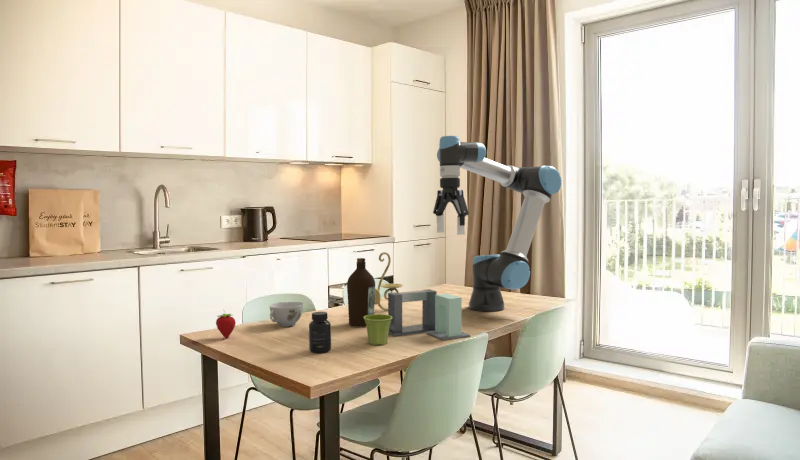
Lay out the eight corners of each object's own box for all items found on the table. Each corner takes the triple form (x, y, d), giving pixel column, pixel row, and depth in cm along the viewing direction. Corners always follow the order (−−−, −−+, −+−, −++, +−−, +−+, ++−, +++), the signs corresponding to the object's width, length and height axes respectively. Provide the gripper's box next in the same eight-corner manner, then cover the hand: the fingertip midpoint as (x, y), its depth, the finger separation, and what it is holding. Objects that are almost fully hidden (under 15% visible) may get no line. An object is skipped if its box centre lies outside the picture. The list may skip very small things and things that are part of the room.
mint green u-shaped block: (447, 329, 200) (447, 293, 199) (461, 335, 192) (461, 297, 191) (435, 331, 198) (435, 294, 197) (449, 337, 190) (449, 298, 189)
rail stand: (429, 325, 209) (429, 288, 208) (441, 330, 202) (441, 291, 201) (383, 331, 200) (383, 292, 199) (394, 336, 193) (393, 296, 192)
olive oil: (343, 326, 207) (342, 259, 206) (352, 320, 218) (352, 256, 216) (370, 328, 205) (370, 260, 203) (378, 322, 215) (378, 257, 214)
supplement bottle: (309, 348, 178) (309, 310, 178) (331, 347, 179) (331, 310, 178) (308, 354, 172) (307, 315, 171) (330, 353, 172) (330, 314, 171)
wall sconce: (382, 315, 228) (381, 253, 227) (367, 311, 235) (367, 252, 234) (407, 310, 237) (407, 251, 236) (393, 307, 244) (392, 250, 243)
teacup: (286, 320, 219) (286, 299, 219) (310, 323, 213) (310, 302, 212) (257, 327, 207) (257, 306, 206) (282, 331, 200) (282, 309, 200)
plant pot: (373, 338, 191) (373, 312, 190) (397, 341, 186) (397, 315, 186) (358, 344, 183) (357, 318, 182) (382, 348, 178) (382, 321, 178)
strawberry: (224, 341, 186) (223, 312, 186) (212, 338, 191) (211, 309, 191) (239, 338, 191) (239, 309, 190) (227, 334, 196) (227, 306, 195)
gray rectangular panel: (452, 329, 202) (452, 328, 202) (470, 336, 192) (470, 334, 192) (426, 333, 197) (426, 331, 197) (443, 340, 187) (443, 338, 187)
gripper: (424, 178, 221) (424, 232, 222) (460, 176, 199) (461, 235, 200) (439, 178, 224) (440, 231, 226) (477, 176, 203) (478, 234, 204)
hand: (450, 233), depth 213 cm, fingers open, 13 cm apart
